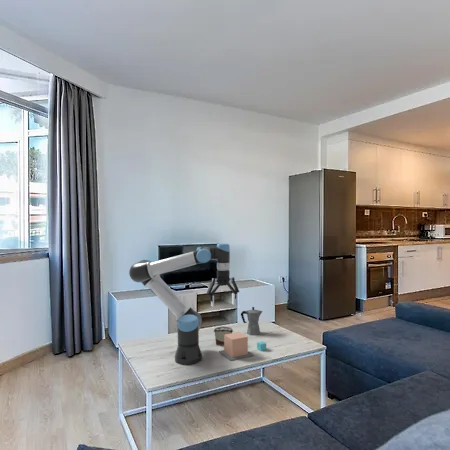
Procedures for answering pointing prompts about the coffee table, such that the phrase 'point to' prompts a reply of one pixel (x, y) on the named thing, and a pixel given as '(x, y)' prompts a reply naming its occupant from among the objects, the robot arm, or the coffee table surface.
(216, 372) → the coffee table surface
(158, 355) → the coffee table surface
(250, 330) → the coffeepot
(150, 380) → the coffee table surface
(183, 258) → the robot arm
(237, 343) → the salmon peach cube
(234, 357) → the mat
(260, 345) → the fully visible block
